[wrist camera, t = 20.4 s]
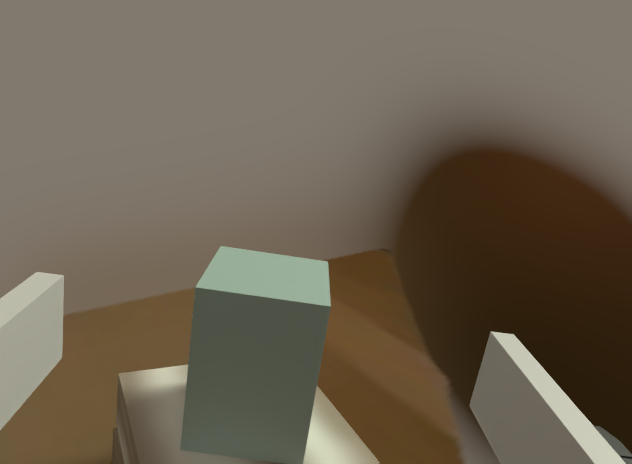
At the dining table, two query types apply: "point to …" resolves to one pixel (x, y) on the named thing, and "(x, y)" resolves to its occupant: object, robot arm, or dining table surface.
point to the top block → (168, 460)
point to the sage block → (255, 355)
